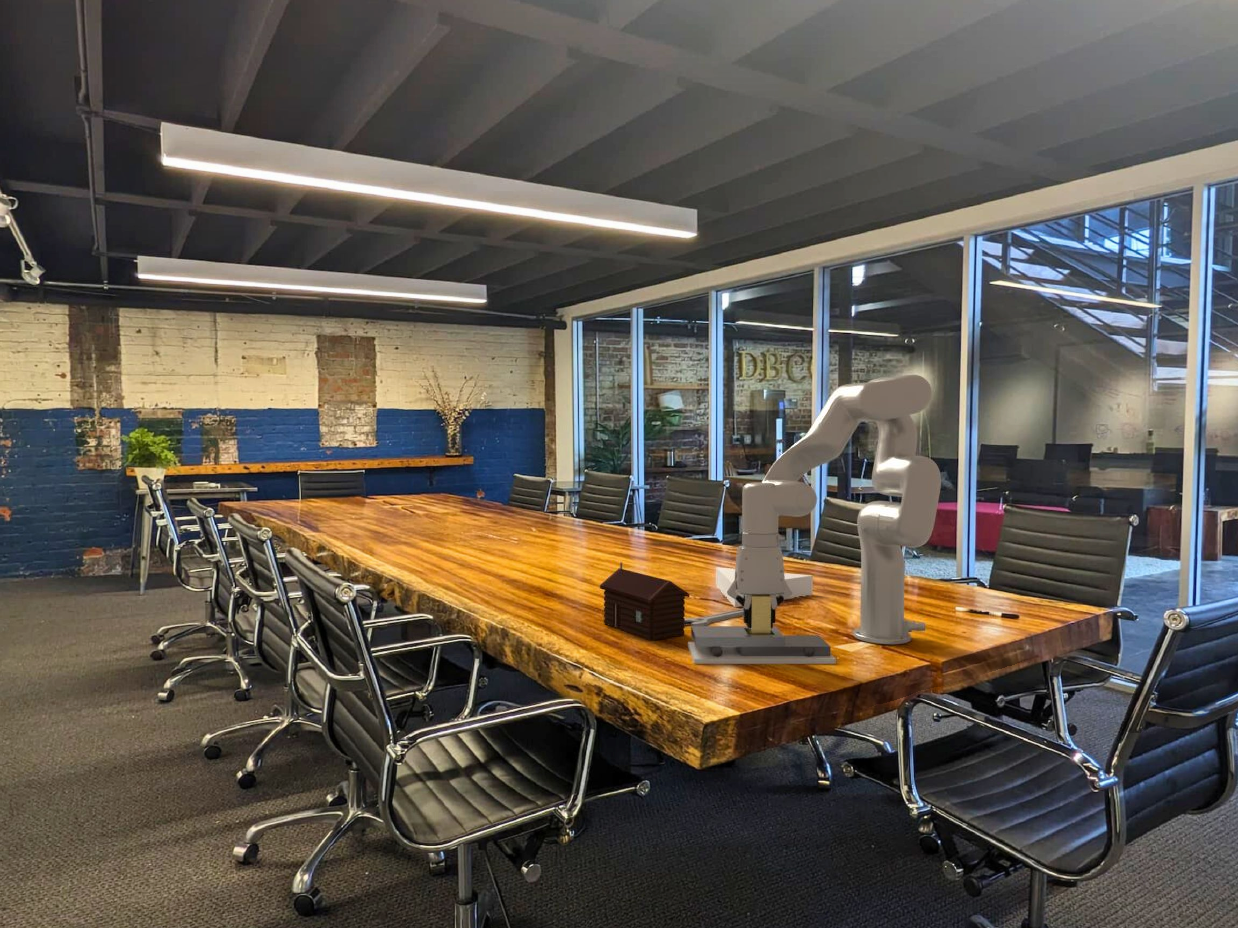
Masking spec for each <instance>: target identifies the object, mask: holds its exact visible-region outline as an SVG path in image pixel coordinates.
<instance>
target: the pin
mask: <svg viewBox="0 0 1238 928" xmlns="http://www.w3.org/2000/svg"><path fill="white" fill-rule="evenodd" d="M750 606H751V628H748V635H771V596H770V595H752V596H751V602H750Z"/></svg>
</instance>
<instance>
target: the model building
mask: <svg viewBox="0 0 1238 928" xmlns="http://www.w3.org/2000/svg"><path fill="white" fill-rule="evenodd" d="M599 589H600V590H604V592H603V595H604V597H603V601H604V602H603V606H604V608H603V612H604V613H603V617H604V619H603V623H604V624H605V625H608V626H611V627H614V628H618V629H620V630H621V631H624V632H626V633H629V634H633V635H634V636H638V637H639V638H640V637H641V638H643V639H645V640H648V641H650V642H651V641H657V640H663V639H664V640H665V639H668V638H673V637H675V638H676V637H680V636H684V635H685V632H686V631H685V630H684V629H685V627H686V625H684V622H685V619H684V618H685V616H686V614H685V610H686V609H685V604H686V602H685V601H686V600H685V599H686V597H687V598H690V593H689V592H687V591H686V590H684V589H683V588H682V587H680V586H678V585H677V584H676V583H674V582H672V581H670V580H668V579H663V578H659V577H657V576H651V575H647V574H643V573H639V572H635V571H633V570H627V569H624V568H623V562H622V561H621V562H620V563H619V568H617V569H616V570H615V571H614V572H613V573H612V574H611V575H609V577H608V578H606V579H605V580H604V581H603V582H602V583H601V584H600V585H599Z"/></svg>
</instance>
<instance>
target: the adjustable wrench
mask: <svg viewBox="0 0 1238 928" xmlns="http://www.w3.org/2000/svg"><path fill="white" fill-rule="evenodd" d="M739 617H744V607H742V608H739V609H735V610H734V609H733V610H729V611H728V610H727V611H724V612H719V613H715V614H711V615H705V616H701V617H684V619H685V622H684V625H685V626H690V627H691V626H710V624H712V623H715V622H720V621H725V620H729V619H734V618H739Z"/></svg>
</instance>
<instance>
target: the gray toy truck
mask: <svg viewBox="0 0 1238 928" xmlns="http://www.w3.org/2000/svg"><path fill="white" fill-rule="evenodd" d="M690 636H691V638H692V642H694V644H695V646H696V647H710V648H711V650H712V653H713V655H714V656H716V657H719V656H721V655H722V649H721V647H736V648H737V650H738V651H739V653H740V655H741V656H808V657H811V656H831V655H832V654H831V648H832V647H831V646H830V645H829V643H827V641H826V640H824V638H823V637H822V636H820V635H817V634H811V635H809V634H805V635H804V634H801V635H800V634H796V635H795V634H791V635H790V634H783V633H782V632H781V631H780V629H779V628H778V627H777V626H776V625H775V626H774V625H773V628H771V635H748V627H747V625H744V626H743V625H729V626H728V625H724V626H723V625H716V626H715V625H708V626H691V625H690Z"/></svg>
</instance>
